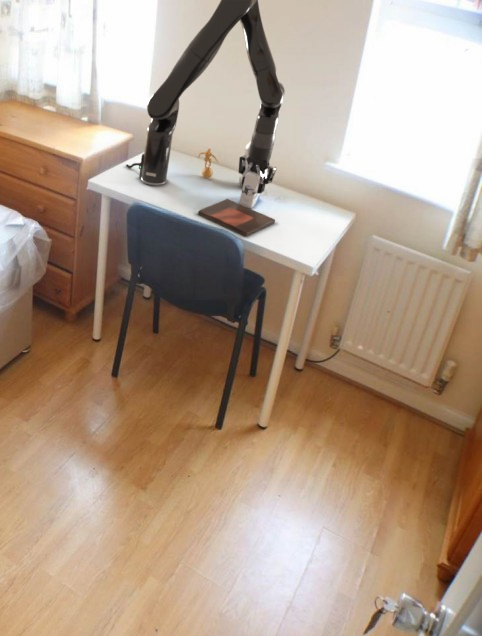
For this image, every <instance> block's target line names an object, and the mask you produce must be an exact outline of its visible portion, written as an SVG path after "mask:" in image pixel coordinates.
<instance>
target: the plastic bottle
mask: <svg viewBox="0 0 482 636" xmlns="http://www.w3.org/2000/svg"><path fill="white" fill-rule="evenodd" d="M252 135H253V133H252V134H251V139H252ZM251 139H250V141H248V143H247V144H246V145H245V148H244V155H246V157H248V156H249V155H248V154H249V149H250V144H251ZM247 167H248V163H247V162H246V168H247ZM242 178H243V176H242V174H239V177H238V183H239V186H241V187H242Z"/></svg>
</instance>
